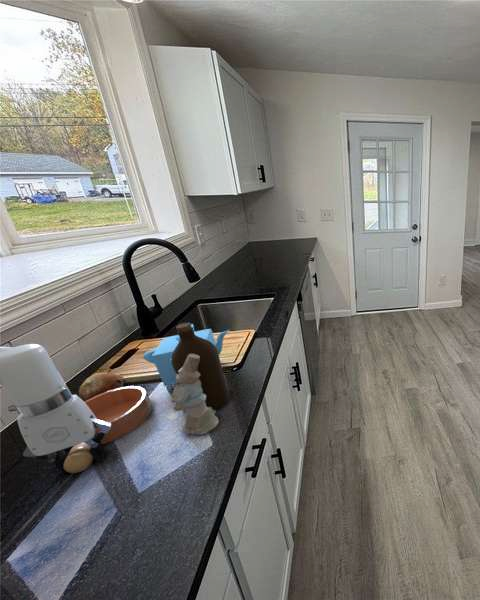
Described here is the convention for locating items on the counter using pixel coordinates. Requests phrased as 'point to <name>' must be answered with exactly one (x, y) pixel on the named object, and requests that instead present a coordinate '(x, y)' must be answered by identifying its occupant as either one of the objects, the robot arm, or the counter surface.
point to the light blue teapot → (166, 349)
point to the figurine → (193, 399)
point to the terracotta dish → (120, 410)
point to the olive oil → (202, 365)
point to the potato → (78, 458)
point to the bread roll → (100, 385)
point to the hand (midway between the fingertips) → (84, 462)
